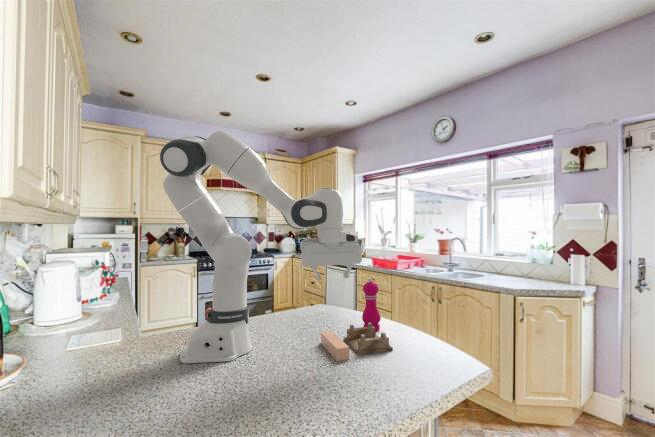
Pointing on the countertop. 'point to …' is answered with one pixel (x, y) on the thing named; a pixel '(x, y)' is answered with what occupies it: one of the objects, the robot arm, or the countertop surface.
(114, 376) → the countertop surface
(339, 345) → the peach rectangular block
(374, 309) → the pepper mill
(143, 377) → the countertop surface
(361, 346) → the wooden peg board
